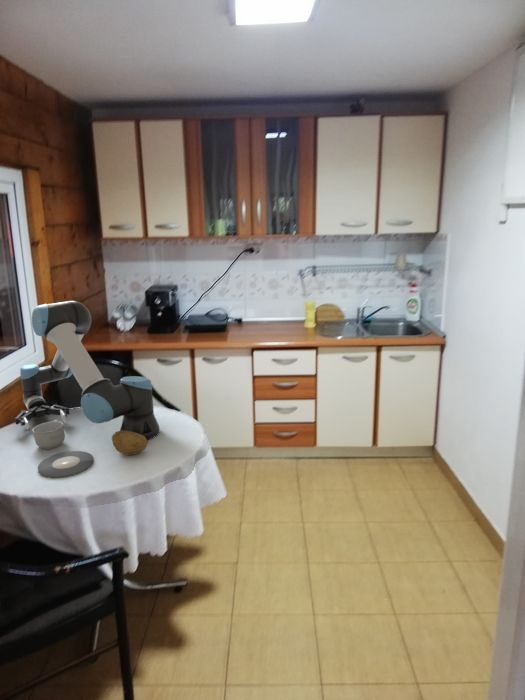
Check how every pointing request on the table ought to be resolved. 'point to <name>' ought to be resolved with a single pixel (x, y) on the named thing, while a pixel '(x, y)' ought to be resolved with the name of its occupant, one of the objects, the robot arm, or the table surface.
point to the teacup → (49, 434)
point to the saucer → (65, 464)
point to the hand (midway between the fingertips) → (46, 422)
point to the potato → (129, 442)
